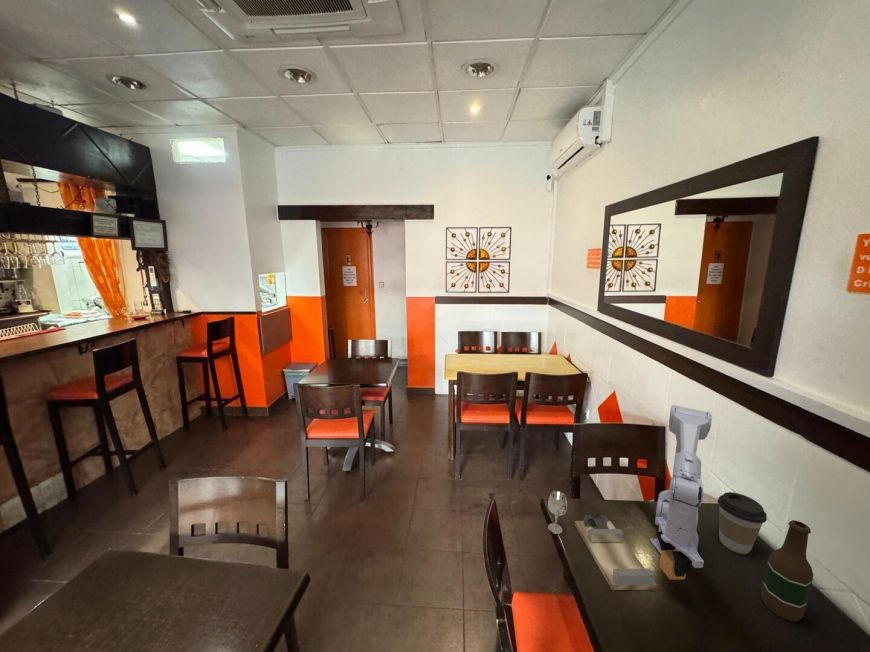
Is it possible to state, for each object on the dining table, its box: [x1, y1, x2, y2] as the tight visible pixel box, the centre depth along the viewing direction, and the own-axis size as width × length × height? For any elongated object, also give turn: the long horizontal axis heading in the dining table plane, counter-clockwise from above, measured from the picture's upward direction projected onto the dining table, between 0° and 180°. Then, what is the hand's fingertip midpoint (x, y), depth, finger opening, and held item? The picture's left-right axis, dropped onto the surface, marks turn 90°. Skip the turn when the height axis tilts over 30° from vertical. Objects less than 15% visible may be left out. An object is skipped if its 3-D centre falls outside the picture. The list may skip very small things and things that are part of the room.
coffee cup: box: [716, 491, 768, 555], centre depth 105 cm, size 11×11×15 cm
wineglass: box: [547, 490, 568, 535], centre depth 110 cm, size 6×6×12 cm
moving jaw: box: [583, 514, 625, 542], centre depth 108 cm, size 10×8×3 cm
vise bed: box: [574, 520, 658, 591], centre depth 102 cm, size 12×23×2 cm, turn 2°
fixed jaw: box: [612, 568, 656, 585], centre depth 91 cm, size 10×2×3 cm, turn 92°
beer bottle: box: [760, 519, 814, 623], centre depth 84 cm, size 8×8×24 cm
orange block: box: [659, 550, 687, 580], centre depth 90 cm, size 4×4×5 cm
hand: (672, 567), depth 90 cm, fingers closed on orange block, 4 cm apart
